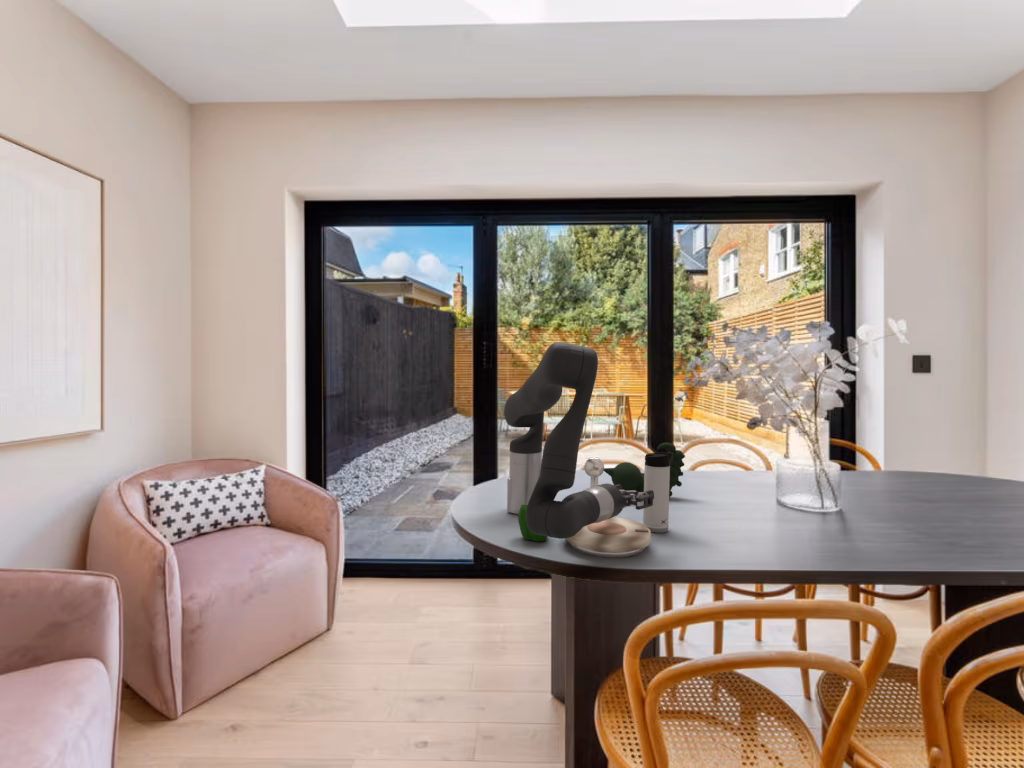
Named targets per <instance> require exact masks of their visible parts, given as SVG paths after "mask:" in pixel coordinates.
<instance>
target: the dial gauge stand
mask: <svg viewBox="0 0 1024 768" xmlns="http://www.w3.org/2000/svg"><path fill="white" fill-rule="evenodd" d="M583 468H584V472H585V474H586V475H587V476H589V478H590V482H589V483H590V485H589V486H590V487H589V488H591V487H594V486H598V485H599V477H600V476H601V475H603V473H604V472H605V471H604V468H605V464H604V461H603V460H602V459H601V458H599V457H594V456H592V457H589V458H588V459H587V460H586V461H585V463H584V466H583Z"/></svg>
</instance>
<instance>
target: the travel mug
mask: <svg viewBox="0 0 1024 768" xmlns="http://www.w3.org/2000/svg"><path fill="white" fill-rule="evenodd" d="M670 457H672V453H671V452H669V451H666V452H663V451H662V452H650V453H646V454H645V456H644V472H643V473H644V492H645V491H648V490H653V492H654V499H653V506H650V507H647V508H644V509H643V511H642V512H643V513H642V514H643V515H642V516H643V517H642V521H643V523H642V524H643V525H645V526H646V527H648V528H649V529H650V531H651V533H653V532H655V534H662V533H663V534H664V533H667V532H668V531H669V515H670V513H669V511H670V510H669V509H670V497H669V480H670V469H669V468H670V460H671V458H670Z"/></svg>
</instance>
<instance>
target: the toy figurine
mask: <svg viewBox="0 0 1024 768" xmlns="http://www.w3.org/2000/svg"><path fill="white" fill-rule="evenodd" d="M656 449H657V450H658V451H659V450H662V449H665V450H667V452H671V455H672V456H671V458H670V462H669V463H670V468H669V469H670V480H669V498H670V497H672V496H673V491H672V489H673V487H675V486H676V487H679V488H680V487H682V485H683V483H682V482H681V481H680V480H679V477H683V476H684V472H683V471H682V467H684V466H685V462H684V461H683V460H684V459H685V458H686V455H685V454H684V453H683V452H682V450H679V449H677V448H676V446H675V444H673V443H671V442H662V443H660V444H658V446H657V448H656ZM603 472H605V473H606V474H607V475H608V476H609V477H611V481H612V485H614V486H615V485H618V484H619V485H622V490H625V491H630V490H635V491H637V492H644V472H641V469H640V468H639V467H638V466H637V465H636V464H633V463H632V462H627V461H626V462H621V463H618V464H617V465H616V466H615V467H606V468H605V467H604V471H603ZM639 497H640V496H639Z"/></svg>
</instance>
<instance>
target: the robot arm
mask: <svg viewBox="0 0 1024 768" xmlns="http://www.w3.org/2000/svg"><path fill="white" fill-rule="evenodd" d="M598 366H599V358H598V354H597V352H596V350H595V349H594V348H592V347H587V346H584V345H582V346H581V345H577V344H573V343H570V342H569V343H568V342H564V341H555V342H553V343H551V344H550V345H549V346H548V347H547V349H546V351H545V352H544V354H543V356H542V358H541V359H540V362H539V363H538V365H537V367H536V368H535V369H534V371H532V373H531V375H529V377H527V379H526V380H525V381H524V383H523V384H522V385H521V387H520V388H519V389H518V390H517V391H515V392H514V393H513V394H511V395H509V397H508V398H507V399H506V401H505V404H504V410H503V414H504V415H503V416H504V419H505V421H506V422H505V423H507V425H508V426H509V427H512V428H529V430H528V431H527V432H526V433H525V434H524V435H521V436H519V437H517V438H515V439H512V440H511V441H510V443H509V468H508V469H509V471H508V472H509V473H508V474H509V477H508V478H507V480H506V481H507V488H506V489H507V492H506V493H507V495H506V496H507V497H506V501H507V502H506V511H507V513H512V514H514V515H518V513H519V510H520V507H521V505H527V508H526V514H525V518H526V524H527V527H528V529H529V530H530V531H531V532H532V533H534V534H536V535H541V536H547V538H554V539H562V540H566V539H565V538H570V537H573V536H574V535H576V534H577V533H578V532H579V531H580V530H581V529H582V528H583V527H584V526H587V525H590V524H592V523H598V522H601V521H604V520H607V519H610V518H612V517H617V516H619V515H620V514H621V512H622V511H623V509H626V508H629V507H630V508H632V507H635V509H636V510H639V511H640V510H644V508H647V507H650V506H653V499H654V492H653V490H648V491H645V492H637V491H635V490H630V491H625V490H622V485H619V484H618V485H615V486H614V484H613V483H608V482H607V483H602V484H598V486H594V487H591V488H590V487H588V488H585V489H583V490H582V491H577V492H574V493H570V494H569V495H567V496H565V497H564V498H563V499H562V500H555V499H556V497H557V495H558V493H559V492H560V491H563V490H564V491H565V490H569V489H571V488H572V487H573V486H574V484H575V479H576V470H577V463H578V455H579V448H580V442H581V438H582V434H583V430H584V426H585V422H586V419H587V414H588V412H589V408H590V403H591V399H592V396H593V391H594V387H595V384H596V380H597V379H596V378H597V375H598ZM563 388H566V389H571V390H575V394H574V398H573V401H572V403H571V406H570V408H569V409H568V411H567V412H566V413H565V414H564V415H563V417H562V419H561V420H559V422H558V423H557V424H556V425H555V427H554V428H553V429H552V430H551V431H550V433H549V435H548V436H547V438H546V440H545V442H544V441H543V439H544V438H543V437H544V436H543V435H544V422H545V421H544V420H545V412H546V411H549V410H550V409H551V408H552V407H554V406H555V405H556V404H557V403H558V402H559V401H560V399H561V397H562V394H563ZM543 442H544V446H543ZM639 496H640V497H639Z"/></svg>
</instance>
